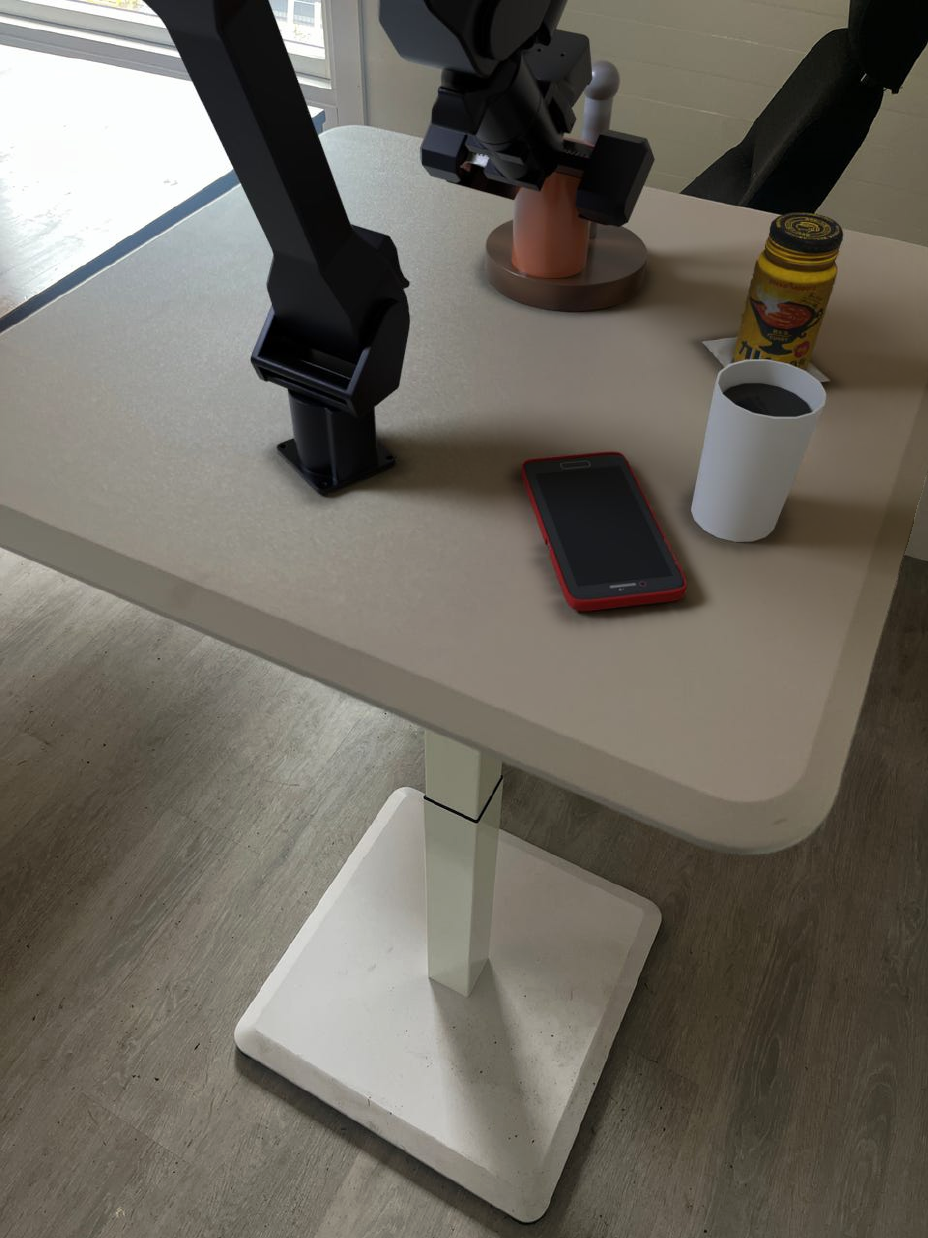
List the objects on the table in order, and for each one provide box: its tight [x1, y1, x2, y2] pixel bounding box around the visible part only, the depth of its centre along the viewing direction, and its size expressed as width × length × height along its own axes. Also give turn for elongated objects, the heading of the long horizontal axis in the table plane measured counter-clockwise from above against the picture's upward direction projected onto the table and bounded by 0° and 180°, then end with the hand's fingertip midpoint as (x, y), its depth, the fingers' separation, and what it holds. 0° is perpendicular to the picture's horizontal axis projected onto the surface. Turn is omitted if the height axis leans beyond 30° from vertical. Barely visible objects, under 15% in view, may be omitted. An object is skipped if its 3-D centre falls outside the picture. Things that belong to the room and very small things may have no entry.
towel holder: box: [484, 59, 648, 312], centre depth 82 cm, size 15×15×17 cm
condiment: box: [701, 211, 844, 383], centre depth 74 cm, size 7×8×12 cm
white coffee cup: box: [690, 359, 827, 543], centre depth 61 cm, size 7×7×10 cm
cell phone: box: [520, 451, 688, 612], centre depth 62 cm, size 8×15×1 cm, turn 10°
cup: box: [511, 135, 595, 278], centre depth 81 cm, size 7×7×10 cm
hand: (560, 206), depth 82 cm, fingers open, 9 cm apart
